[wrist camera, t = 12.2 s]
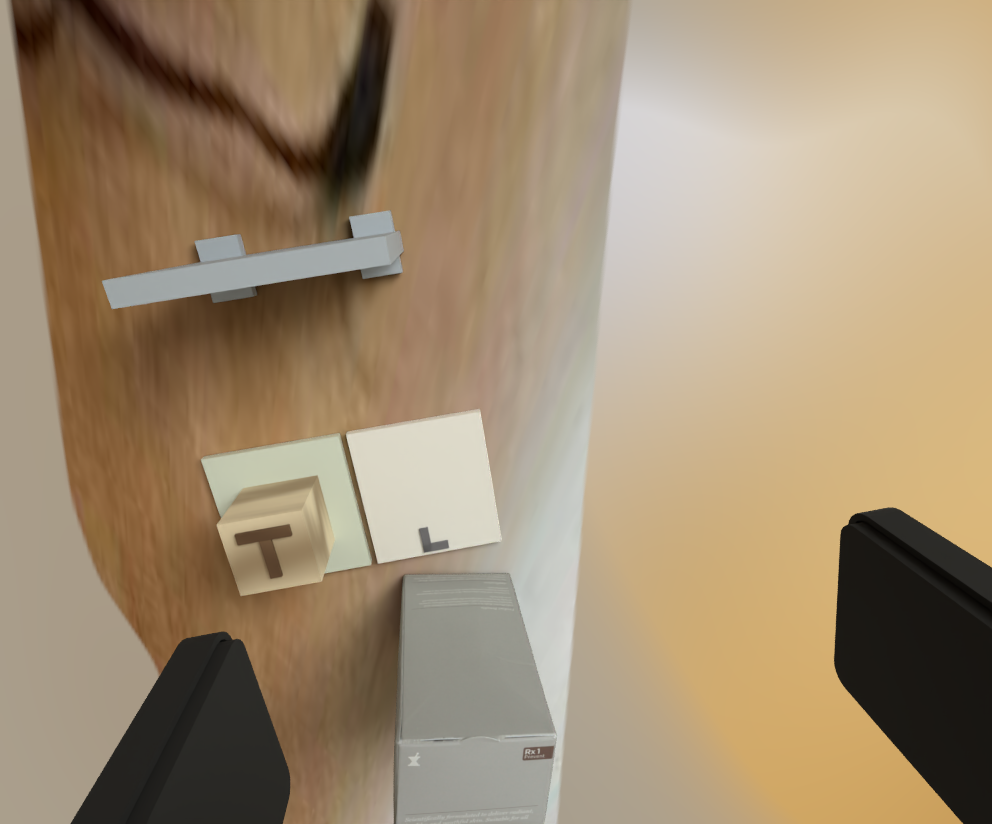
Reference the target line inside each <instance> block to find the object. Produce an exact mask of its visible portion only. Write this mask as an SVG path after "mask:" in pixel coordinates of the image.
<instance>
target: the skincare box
mask: <svg viewBox="0 0 992 824" xmlns="http://www.w3.org/2000/svg"><path fill="white" fill-rule="evenodd" d="M556 739H557V734H556V731H555V728H554V725H553V722H552V718H551V715H550V711H549V708H548V705H547V702H546V698H545V695H544V691H543V688H542V685H541V681H540V678H539V675H538V671H537V667H536V663H535V660H534V657H533V653H532V650H531V646H530V643H529V639H528V636H527V632H526V629H525V625H524V622H523V618H522V614H521V611H520V607H519V604H518V600H517V597H516V593H515V590H514V586H513V583H512V580H511V577H510V574H509V573H496V574H412V575H404V577H403V585H402V602H401V617H400V636H399V653H398V678H397V701H396V723H395V746H394V824H544V821H545V815H546V809H547V802H548V795H549V789H550V782H551V775H552V768H553V761H554V753H555V746H556Z"/></svg>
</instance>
